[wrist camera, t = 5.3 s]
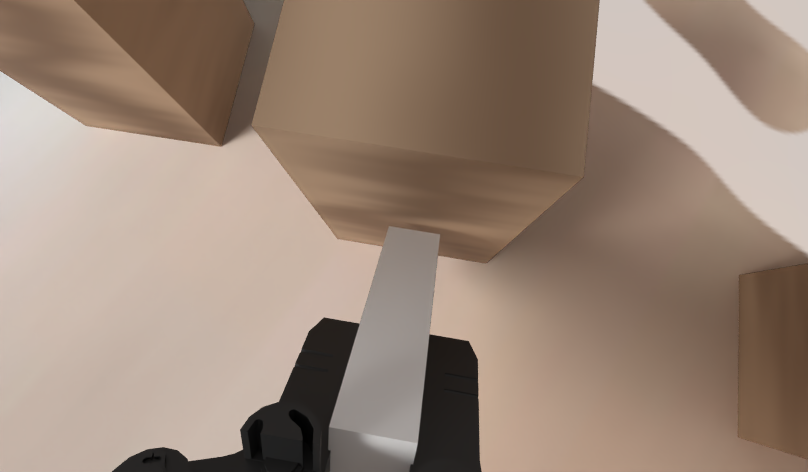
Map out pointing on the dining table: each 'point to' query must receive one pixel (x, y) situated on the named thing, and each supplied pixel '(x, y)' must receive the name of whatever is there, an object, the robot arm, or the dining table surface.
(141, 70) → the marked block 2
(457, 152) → the unmarked block
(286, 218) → the dining table surface
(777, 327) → the marked block 1
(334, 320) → the robot arm
